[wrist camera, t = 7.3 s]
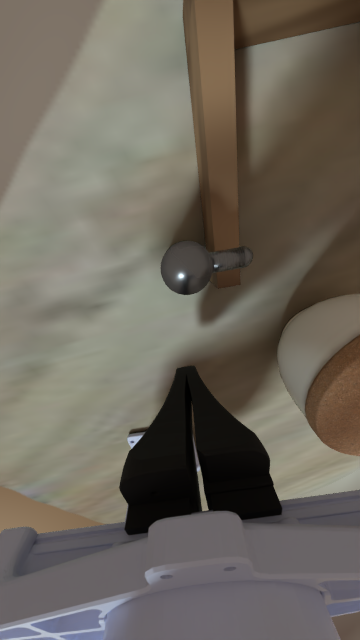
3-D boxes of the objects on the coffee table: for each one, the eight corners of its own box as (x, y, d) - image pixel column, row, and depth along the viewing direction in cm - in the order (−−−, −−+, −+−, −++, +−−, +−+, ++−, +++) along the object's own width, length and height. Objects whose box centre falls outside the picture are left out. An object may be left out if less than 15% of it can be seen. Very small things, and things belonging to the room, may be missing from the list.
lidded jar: (257, 289, 15) (376, 354, 6) (386, 268, 14) (702, 304, 6) (255, 384, 19) (323, 499, 10) (354, 369, 19) (508, 475, 10)
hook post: (224, 267, 14) (258, 282, 8) (169, 277, 14) (166, 298, 8) (222, 234, 13) (259, 226, 7) (162, 245, 13) (155, 246, 7)
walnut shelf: (435, 239, 14) (502, 238, 11) (209, 279, 14) (217, 288, 11) (559, -72, 8) (757, -235, 5) (182, 15, 9) (187, -91, 6)
